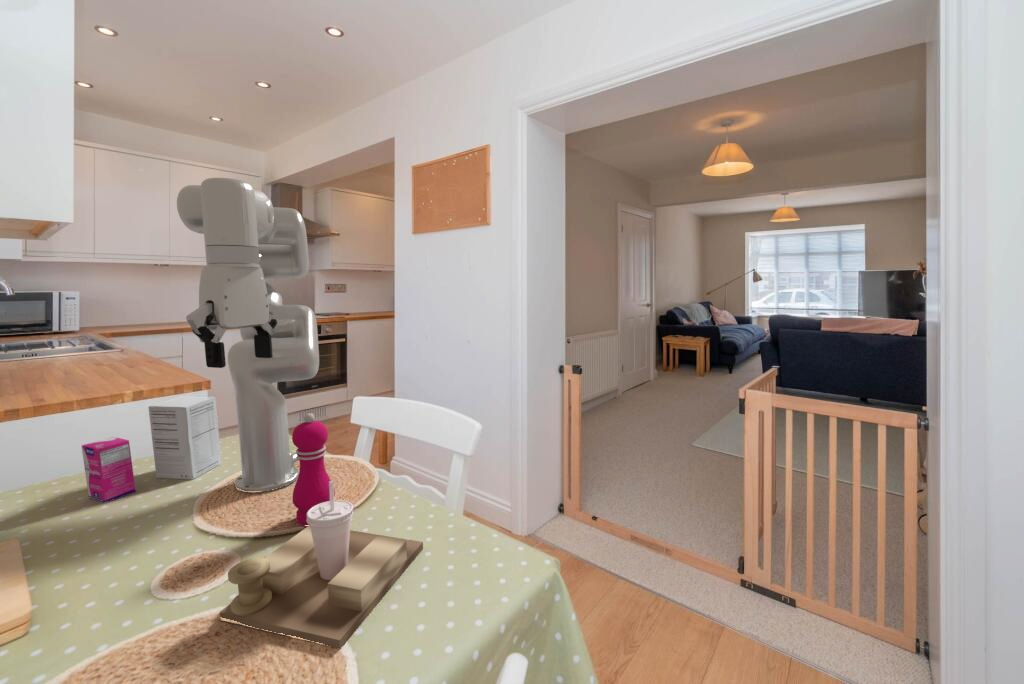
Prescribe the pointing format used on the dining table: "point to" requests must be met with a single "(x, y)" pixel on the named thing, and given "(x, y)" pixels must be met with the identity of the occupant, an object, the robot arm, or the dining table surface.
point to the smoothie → (331, 534)
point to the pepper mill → (310, 467)
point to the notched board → (317, 587)
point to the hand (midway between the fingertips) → (241, 362)
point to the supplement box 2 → (185, 437)
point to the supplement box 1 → (108, 468)
